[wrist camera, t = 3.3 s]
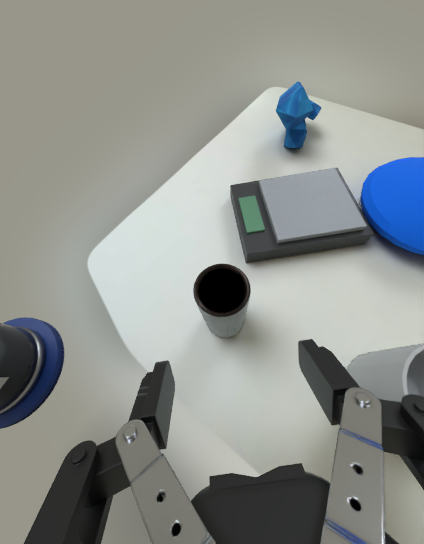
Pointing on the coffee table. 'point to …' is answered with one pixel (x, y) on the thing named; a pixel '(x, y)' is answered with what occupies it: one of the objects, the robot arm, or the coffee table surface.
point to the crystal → (296, 114)
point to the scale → (297, 215)
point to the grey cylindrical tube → (222, 298)
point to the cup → (390, 372)
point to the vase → (397, 202)
